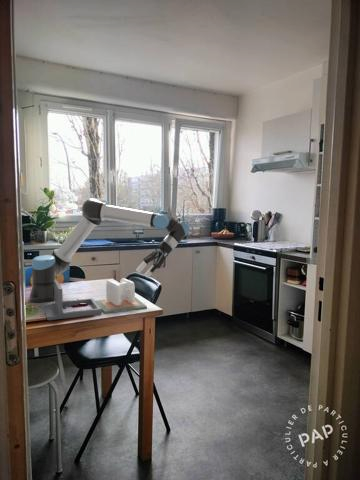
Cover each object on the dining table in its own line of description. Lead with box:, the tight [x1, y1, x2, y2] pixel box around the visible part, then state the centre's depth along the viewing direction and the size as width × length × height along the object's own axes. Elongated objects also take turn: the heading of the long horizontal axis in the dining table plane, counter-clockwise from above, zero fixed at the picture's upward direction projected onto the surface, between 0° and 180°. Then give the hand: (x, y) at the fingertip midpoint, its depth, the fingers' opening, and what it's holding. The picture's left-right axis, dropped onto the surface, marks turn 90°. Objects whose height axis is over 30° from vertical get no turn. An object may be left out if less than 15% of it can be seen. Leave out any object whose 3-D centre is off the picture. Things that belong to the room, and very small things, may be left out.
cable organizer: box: [105, 277, 136, 306], centre depth 180 cm, size 15×11×12 cm
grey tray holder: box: [43, 279, 103, 321], centre depth 169 cm, size 20×24×14 cm
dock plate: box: [95, 297, 148, 314], centre depth 180 cm, size 20×22×1 cm
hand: (141, 273), depth 184 cm, fingers open, 13 cm apart
